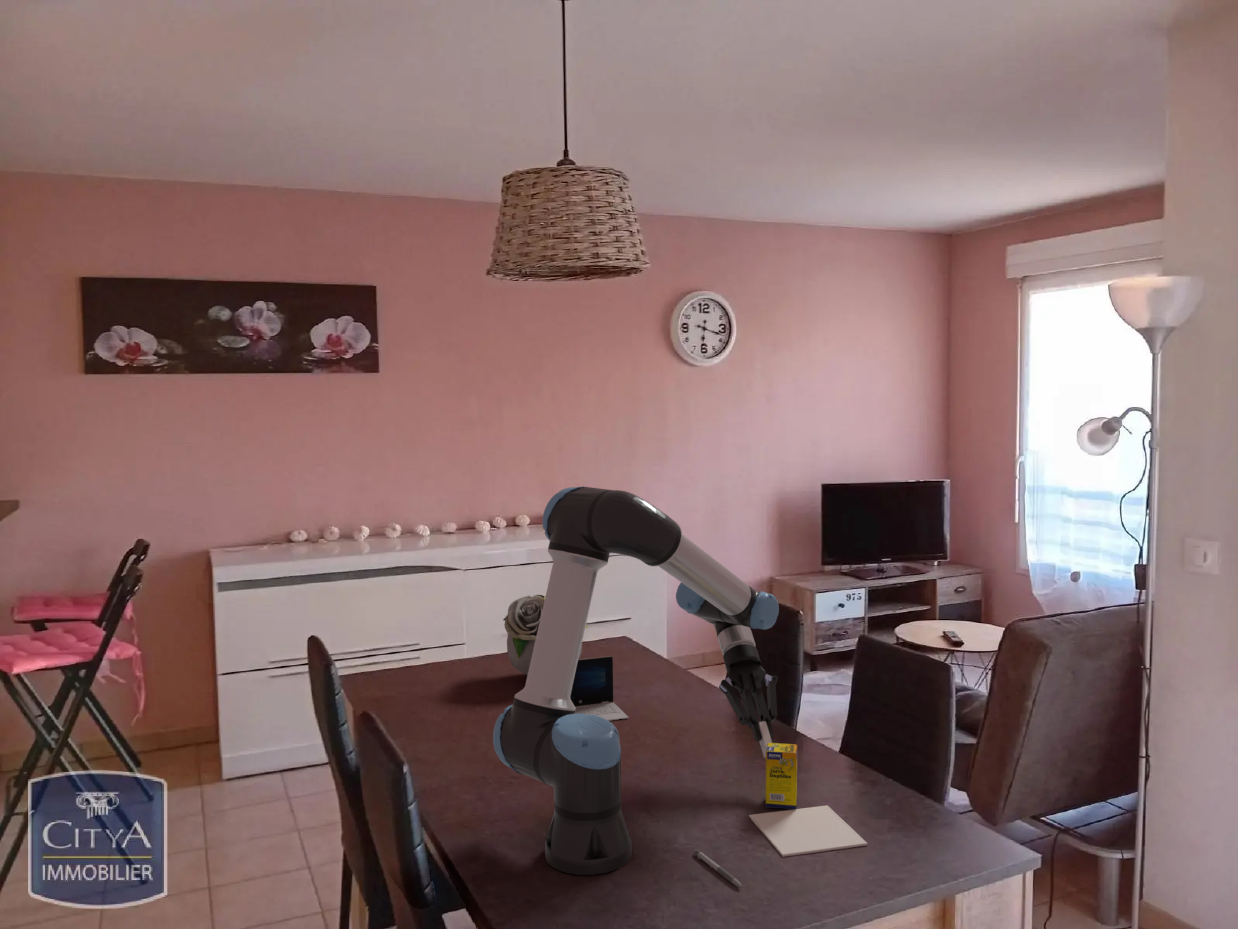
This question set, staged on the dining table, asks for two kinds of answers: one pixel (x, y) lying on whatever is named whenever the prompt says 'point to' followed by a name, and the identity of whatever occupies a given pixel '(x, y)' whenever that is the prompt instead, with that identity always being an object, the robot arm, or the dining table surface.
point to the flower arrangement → (523, 630)
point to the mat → (806, 830)
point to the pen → (717, 868)
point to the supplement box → (781, 775)
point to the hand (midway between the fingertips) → (769, 754)
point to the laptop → (595, 689)
